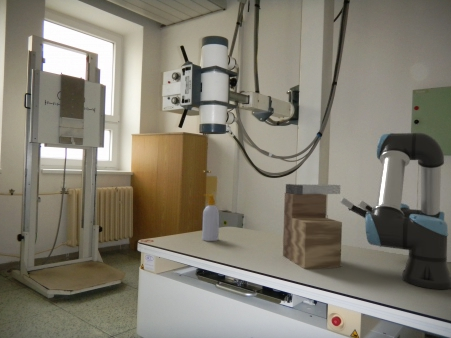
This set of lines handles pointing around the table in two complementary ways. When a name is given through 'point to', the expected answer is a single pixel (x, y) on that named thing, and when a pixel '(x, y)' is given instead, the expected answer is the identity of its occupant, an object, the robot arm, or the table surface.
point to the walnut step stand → (310, 232)
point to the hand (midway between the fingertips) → (350, 201)
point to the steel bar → (312, 189)
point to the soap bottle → (210, 221)
